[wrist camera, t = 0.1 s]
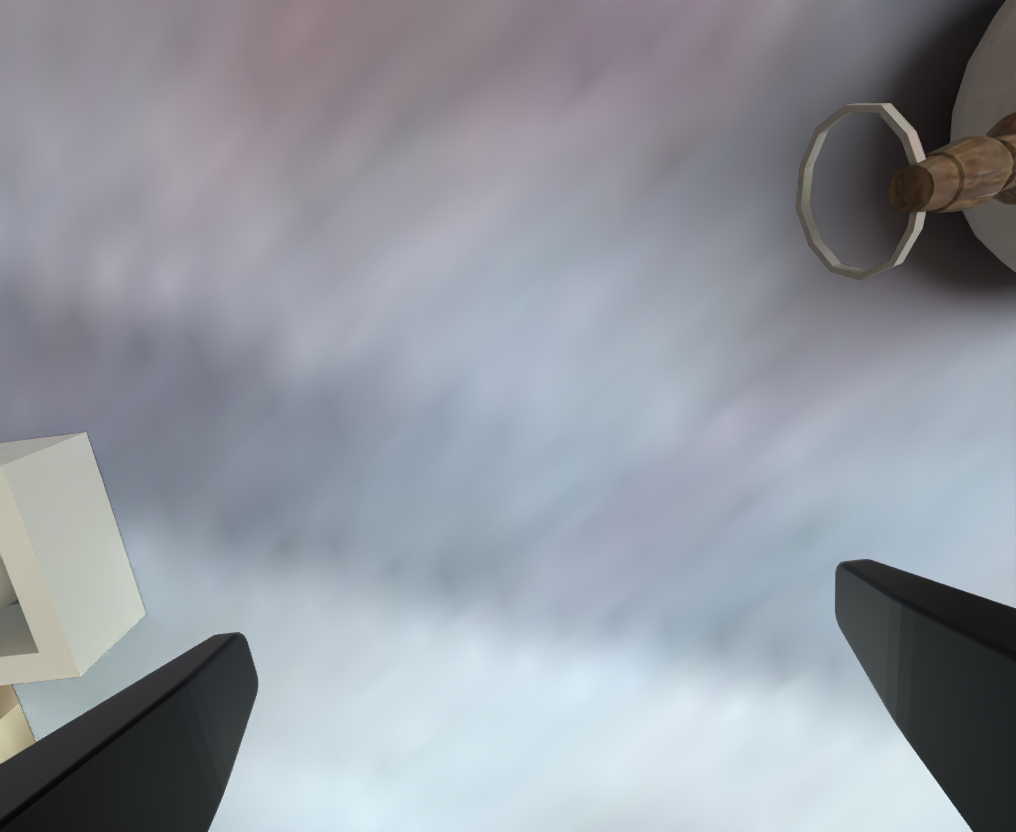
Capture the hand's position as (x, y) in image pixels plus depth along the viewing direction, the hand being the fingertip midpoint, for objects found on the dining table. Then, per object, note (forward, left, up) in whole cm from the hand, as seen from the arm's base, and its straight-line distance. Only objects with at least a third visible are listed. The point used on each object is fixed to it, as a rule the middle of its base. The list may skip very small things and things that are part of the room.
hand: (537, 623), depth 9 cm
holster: (-3, +22, -15) cm, 26 cm away
